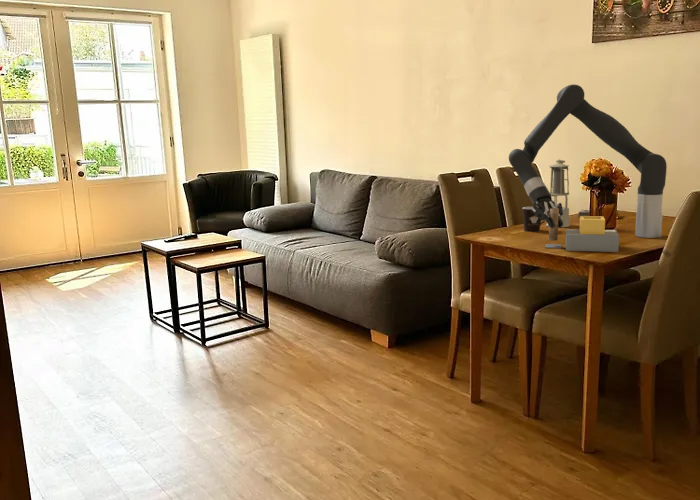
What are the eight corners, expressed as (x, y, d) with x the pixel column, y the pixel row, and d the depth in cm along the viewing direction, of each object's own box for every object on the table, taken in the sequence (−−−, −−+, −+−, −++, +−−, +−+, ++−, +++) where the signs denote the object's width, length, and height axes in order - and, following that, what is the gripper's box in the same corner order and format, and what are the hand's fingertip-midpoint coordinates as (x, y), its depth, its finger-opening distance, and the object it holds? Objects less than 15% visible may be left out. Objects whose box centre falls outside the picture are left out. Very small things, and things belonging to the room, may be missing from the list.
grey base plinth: (615, 245, 243) (616, 215, 241) (618, 251, 232) (619, 220, 229) (565, 244, 248) (566, 215, 246) (566, 250, 237) (567, 219, 235)
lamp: (543, 226, 289) (544, 160, 284) (552, 222, 300) (554, 158, 294) (566, 228, 284) (568, 160, 278) (574, 223, 294) (577, 158, 288)
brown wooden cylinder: (557, 239, 245) (558, 208, 242) (557, 240, 242) (558, 209, 239) (548, 238, 246) (549, 208, 243) (548, 240, 243) (549, 209, 240)
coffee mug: (519, 231, 279) (520, 208, 277) (524, 228, 286) (524, 206, 284) (547, 233, 273) (547, 209, 271) (550, 229, 281) (551, 207, 279)
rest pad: (561, 245, 246) (561, 244, 246) (561, 248, 241) (561, 247, 241) (545, 245, 248) (545, 244, 248) (545, 248, 242) (545, 247, 242)
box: (616, 218, 303) (616, 212, 302) (578, 218, 311) (578, 211, 310) (618, 216, 312) (618, 209, 311) (581, 215, 320) (581, 209, 320)
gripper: (527, 186, 244) (547, 222, 235) (556, 184, 249) (577, 219, 241) (518, 198, 250) (537, 234, 241) (547, 196, 255) (567, 230, 246)
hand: (557, 226), depth 241 cm, fingers closed on brown wooden cylinder, 3 cm apart
